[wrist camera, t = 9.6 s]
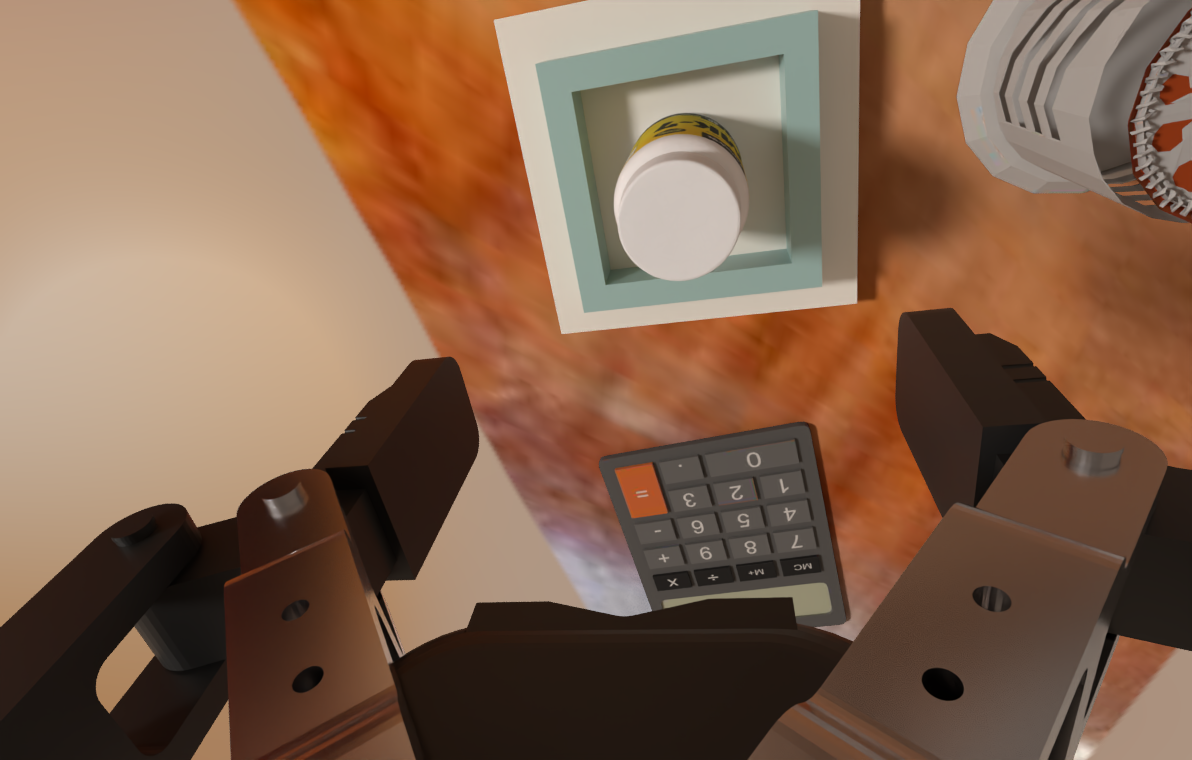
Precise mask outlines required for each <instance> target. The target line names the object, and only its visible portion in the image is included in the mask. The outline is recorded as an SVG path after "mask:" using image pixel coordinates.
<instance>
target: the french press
mask: <svg viewBox="0 0 1192 760" xmlns="http://www.w3.org/2000/svg"><path fill="white" fill-rule="evenodd" d="M957 101H958V106H959V111H960V116H961V121H962V126H963V131H964V136H965V141H966V143H967V145H968V146H969V147H970V148H971V150H972V151H973V152H974V153H975V155H976V156H977V157H978V158H979V159H980V161H981V162H982V163H983V164H984V166H985V167H986V168H987V169H988V171H989V172H990V173H991V174H992V176H994V177H996V178H999V179H1001V180H1003V181H1006V182H1008V183H1010V184H1013V185H1015V186H1017V187H1020V188H1022V189H1024V190H1027V191H1029V192H1031V193H1085V192H1087V191H1090V190H1091V191H1093V192H1095V193H1097V194H1100V195H1102V196H1104V197H1106V198H1109V199H1111V200H1113V201H1115V202H1117V203H1120V204H1122V205H1124V206H1126V207H1129V208H1131V209H1133V210H1135V211H1137V212H1140V213H1142V214H1144V215H1146V216H1149V217H1151V218H1155V219H1161V220H1168V221H1174V222H1181V223H1192V0H993V2H992V4H991V5H990V7H989V9H988V10H987V12H986V14H985V15H984V17H983V19H982V20H981V22H980V24H979V25H978V27H977V29H976V30H975V32H974V34H973V35H972V37H971V39H970V41H969V42H968V45H967V50H966V54H965V59H964V64H963V69H962V74H961V78H960V83H959V88H958V93H957ZM1133 180H1138V182H1139V183H1140V184H1137V185H1133V186H1123V187H1109V186H1108V184H1122V183H1126V182H1130V181H1133ZM1144 190H1145V191H1146V192H1147V194H1148V195H1131V196H1122V195H1119V194H1117V193H1115V192H1126V191H1144ZM1141 200H1153V202H1154V203H1155V204H1156V205H1148V206H1144V205H1142V204H1140V203H1138V202H1135V201H1141Z"/></svg>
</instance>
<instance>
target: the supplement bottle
mask: <svg viewBox="0 0 1192 760" xmlns="http://www.w3.org/2000/svg"><path fill="white" fill-rule="evenodd" d="M749 198H750V197H749V188H748V183H747V179H746V175H745V172H744V168H743V164H742V160H741V155H740V152H739V150H738V147H737V145H736V143H735V141H734V139H733V138H732V136H731V135H730V133H729V132H728V131H727V130H726V129H725V128H724V127H723V126H722V125H721V124H720V123H718V122H717V121H715V120H714V119H712V118H710V117H707V116H705V115H701V114H696V113H677V114H672V115H669V116H666V117H664V118H661V119H660V120H658V121H656V122H655V123H653V124H652V125H651V126H650V127H648V128H647V129H646V130H645V131H644V133H643V134H642V135H641V136H640V137H639V139H638V140H637V142H636V144H635V145H634V147H633V149H632V151H631V153H630V155H629V157H628V159H627V161H626V163H625V165H624V167H623V169H622V171H621V173H620V175H619V177H618V180H617V184H616V188H615V193H614V213H615V218H616V222H617V225H618V233H619V237H620V241H621V243H622V246H623V248H624V250H625V251H626V253H627V255H628V256H629V257H630V259H631V260H632V261H633V262H634V263H635V264H636V265H637V266H638V267H639V268H641V269H642V270H643V271H645V272H647V273H648V274H650V275H652V276H654V277H657V278H660V279H664V280H669V281H687V280H692V279H696V278H699V277H701V276H704V275H706V274H708V273H710V272H711V271H713V270H715V269H716V268H717V267H718V266H720V265H721V264H722V263H723V262H724V261H725V260H726V258H727V257H728V256H729V255H730V253H731V252H732V250H733V248H734V246H735V245H736V242H737V240H738V237H739V235H740V233H741V231H742V229H743V227H744V224H745V222H746V219H747V215H748V210H749Z"/></svg>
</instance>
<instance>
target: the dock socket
mask: <svg viewBox="0 0 1192 760" xmlns="http://www.w3.org/2000/svg"><path fill="white" fill-rule="evenodd" d="M494 24H495V29H496V33H497V38H498V42H499V47H500V52H501V56H502V61H503V65H504V70H505V75H506V79H507V84H508V89H509V93H510V98H511V102H512V107H513V112H514V116H515V121H516V125H517V130H518V135H519V139H520V144H521V149H522V153H523V158H524V162H525V167H526V172H527V176H528V181H529V185H530V190H531V195H532V199H533V204H534V209H535V213H536V218H537V222H538V227H539V232H540V236H541V241H542V245H543V250H544V255H545V259H546V264H547V269H548V273H549V278H550V282H551V287H552V292H553V296H554V301H555V305H556V310H557V315H558V319H559V324H560V329H561V333H562V334H566V333H576V332H586V331H595V330H605V329H615V328H624V327H634V326H644V325H653V324H663V323H673V322H682V321H692V320H702V319H711V318H721V317H731V316H740V315H750V314H760V313H769V312H779V311H789V310H798V309H808V308H818V307H827V306H837V305H847V304H856V303H857V257H858V160H859V64H860V0H588V1H583V2H578V3H573V4H569V5H564V6H559V7H554V8H549V9H545V10H540V11H535V12H530V13H525V14H521V15H516V16H511V17H506V18H501V19H496V20H494ZM677 113H696V114H701V115H705V116H707V117H710V118H712V119H714V120H715V121H717V122H718V123H720V124H721V125H722V126H723V127H724V128H725V129H726V130H727V131H728V132H729V133H730V135H731V136H732V138H733V139H734V141H735V143H736V145H737V147H738V150H739V152H740V155H741V160H742V164H743V168H744V172H745V175H746V179H747V183H748V188H749V197H750V198H749V210H748V215H747V219H746V222H745V224H744V227H743V229H742V231H741V233H740V235H739V237H738V240H737V242H736V245H735V246H734V248H733V250H732V252H731V253H730V255H729V256H728V257H727V258H726V260H725V261H724V262H723V263H722V264H721V265H720V266H718V267H717V268H716V269H715V270H713V271H711V272H710V273H708V274H706V275H704V276H701V277H699V278H696V279H692V280H687V281H669V280H664V279H660V278H657V277H654V276H652V275H650V274H648V273H647V272H645V271H643V270H642V269H641V268H639V267H638V266H637V265H636V264H635V263H634V262H633V261H632V260H631V259H630V257H629V256H628V255H627V253H626V251H625V250H624V248H623V246H622V243H621V241H620V237H619V233H618V225H617V222H616V218H615V213H614V193H615V188H616V184H617V180H618V177H619V175H620V173H621V171H622V169H623V167H624V165H625V163H626V161H627V159H628V157H629V155H630V153H631V151H632V149H633V147H634V145H635V144H636V142H637V140H638V139H639V137H640V136H641V135H642V134H643V133H644V131H645V130H646V129H647V128H648V127H650V126H651V125H652V124H653V123H655V122H656V121H658V120H660V119H661V118H664V117H666V116H669V115H672V114H677Z"/></svg>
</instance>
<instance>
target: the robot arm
mask: <svg viewBox="0 0 1192 760" xmlns="http://www.w3.org/2000/svg"><path fill="white" fill-rule="evenodd" d="M895 397H896V411H897V417H898V421H899V425H900V428H901V431H902V433H903V435H904V437H905V439H906V441H907V444H908V446H909V448H910V450H911V452H912V454H913V456H914V458H915V460H916V463H917V465H918V467H919V469H920V471H921V473H922V475H923V477H924V479H925V482H926V484H927V486H928V488H929V490H930V492H931V494H932V496H933V498H934V501H935V503H936V505H937V507H938V509H939V511H940V513H941V515H942V520H941V521H940V523H939V524H938V525H937V527H936V528H935V529H934V531H933V532H932V534H931V535H930V536H929V538H928V539H927V541H926V542H925V543H924V545H923V546H922V547H921V549H920V550H919V552H918V553H917V554H916V556H915V557H914V559H913V560H912V561H911V563H910V564H909V565H908V567H907V568H906V570H905V571H904V572H903V574H902V575H901V577H900V578H899V579H898V581H897V582H896V583H895V585H894V586H893V588H892V589H891V590H890V592H889V593H888V594H887V596H886V597H885V599H884V600H883V601H882V603H881V604H880V606H879V607H878V608H877V610H876V611H875V612H874V614H873V615H872V617H871V618H870V619H869V621H868V622H867V624H866V625H865V626H864V628H863V629H862V630H861V632H860V633H859V635H858V636H857V637H856V639H855V640H854V642H853V641H851V640H848V639H846V638H843V637H841V636H839V635H836V634H834V633H831V632H827V631H824V630H821V629H818V628H814V627H811V626H806V625H802V624H797V623H796V616H795V610H794V603H793V597H772V598H716V599H705V600H701V601H696V602H692V603H687V604H683V605H678V606H674V607H669V608H665V609H660V610H656V611H651V612H647V613H643V614H638V615H634V616H615V615H610V614H606V613H601V612H596V611H591V610H587V609H582V608H577V607H572V606H568V605H562V604H558V603H553V602H549V601H548V602H496V603H494V602H493V603H476V606H475V608H474V611H473V614H472V616H471V619H470V622H469V625H468V627H467V628H465V629H461V630H457V631H454V632H451V633H448V634H445V635H442V636H440V637H438V638H435V639H433V640H431V641H429V642H427V643H424V644H422V645H421V646H419V647H417V648H415V649H413V650H411V651H410V652H408V653H406V654H405V652H404V650H403V646H402V644H401V641H400V638H399V636H398V633H397V630H396V627H395V625H394V622H393V619H392V616H391V614H390V611H389V608H388V605H387V603H386V601H385V598H384V596H383V594H382V592H381V588H382V586H383V585H384V583H385V581H387V580H415V579H416V577H417V575H418V573H419V571H420V569H421V567H422V565H423V563H424V561H425V559H426V557H427V555H428V553H429V551H430V549H431V547H432V545H433V543H434V541H435V539H436V537H437V535H438V533H439V531H440V529H441V527H442V525H443V523H444V521H445V519H446V517H447V515H448V513H449V511H450V509H451V506H452V504H453V503H454V501H455V499H456V497H457V495H458V492H459V491H460V488H461V487H462V485H463V483H464V481H465V479H466V477H467V475H468V473H469V471H470V469H471V467H472V465H473V463H474V461H475V459H476V456H477V453H478V447H479V433H478V427H477V423H476V420H475V416H474V413H473V410H472V407H471V403H470V400H469V397H468V394H467V390H466V387H465V384H464V380H463V377H462V374H461V371H460V368H459V366H458V363H457V362H456V360H455V359H454V358H452V357H442V358H432V359H422V360H414V361H412V362H411V363H410V364H409V365H408V366H407V368H406V369H405V370H404V371H403V373H402V374H401V375H400V377H398V379H397V380H396V381H395V383H394V384H393V385H392V386H391V387H389V388H388V389H386V390H385V391H383V392H382V393H381V394H379V395H378V396H376V397H375V398H373V399H372V400H370V401H369V402H368V403H367V404H366V405H365V407H364V408H363V409H362V410H361V411H360V413H359V414H358V415H357V416H356V420H354V421H352V422H351V423H350V425H349V426H348V427H347V428H346V429H345V433H344V434H341V435H340V436H339V438H338V439H337V440H336V441H335V442H334V444H333V445H332V446H331V447H330V448H329V450H328V451H327V452H326V453H325V454H324V455H323V457H322V458H321V459H320V460H319V461H318V463H317V464H316V465H315V466H314V467H313V468H312V469H302V470H297V471H293V472H289V473H286V474H283V475H281V476H278V477H276V478H274V479H272V480H270V481H268V482H266V483H264V484H263V485H261V486H260V487H258V488H257V489H255V490H254V491H253V492H251V494H249V496H247V497H246V498H245V499H244V500H243V502H242V503H241V505H240V506H239V508H238V511H237V517H235V518H231V519H228V520H224V521H220V522H216V523H213V524H209V525H205V526H201V527H196V525H195V523H194V522H193V520H192V518H191V517H190V515H189V513H188V512H187V510H186V508H185V507H183V506H182V505H179V504H162V505H157V506H153V507H150V508H147V509H144V510H141V511H139V512H136V513H134V514H132V515H130V516H128V517H126V518H124V519H122V520H120V521H118V522H117V523H115V524H114V525H112V526H111V527H109V528H108V529H107V530H105V531H104V532H102V533H101V534H100V535H99V536H98V537H97V538H95V539H94V540H93V541H92V542H91V543H90V544H89V545H88V546H87V547H86V548H85V549H84V550H83V551H82V552H80V553H79V554H78V555H77V556H76V557H75V558H74V559H73V560H72V561H71V562H70V563H69V564H68V565H67V566H66V567H64V568H63V569H62V570H61V571H60V572H59V573H58V574H57V575H56V576H55V577H54V578H53V579H52V580H51V581H49V582H48V583H47V584H46V585H45V586H44V587H43V588H42V589H41V590H40V591H39V592H38V593H37V594H36V595H35V596H34V597H33V598H31V599H30V600H29V601H28V602H27V603H26V604H25V605H24V606H23V607H22V608H21V609H20V610H18V611H17V613H15V614H14V615H13V616H12V617H11V618H10V619H9V620H8V621H7V622H6V623H5V624H3V626H2V627H0V760H191V758H192V757H193V755H194V753H195V752H196V750H197V749H198V747H199V745H200V744H201V742H202V741H203V739H204V737H205V735H206V734H207V732H208V731H209V729H210V728H211V726H212V724H213V723H214V721H215V720H216V718H217V717H218V715H219V713H220V712H221V710H222V709H223V707H224V705H225V704H226V702H227V701H229V724H230V749H231V760H1073V758H1074V755H1075V753H1076V750H1077V747H1078V744H1079V741H1080V739H1081V736H1082V733H1083V731H1084V728H1085V726H1086V723H1087V720H1088V718H1089V715H1090V712H1091V710H1092V707H1093V705H1094V702H1095V699H1096V697H1097V694H1098V692H1099V689H1100V686H1101V684H1102V681H1103V678H1104V676H1105V673H1106V671H1107V668H1108V665H1109V663H1110V660H1111V658H1112V655H1113V652H1114V650H1115V647H1116V644H1117V642H1118V639H1119V636H1125V637H1129V638H1134V639H1139V640H1143V641H1148V642H1152V643H1157V644H1161V645H1166V646H1171V647H1175V648H1180V649H1184V650H1189V651H1192V470H1188V469H1181V468H1176V467H1171V466H1167V465H1168V462H1167V458H1166V456H1165V454H1164V453H1163V451H1162V450H1161V449H1160V448H1159V447H1158V446H1157V445H1156V444H1154V443H1153V442H1152V441H1150V440H1149V439H1147V438H1146V437H1144V436H1142V435H1140V434H1138V433H1136V432H1134V431H1131V430H1129V429H1126V428H1123V427H1120V426H1117V425H1113V424H1109V423H1104V422H1099V421H1092V420H1086V419H1085V418H1084V417H1083V416H1082V415H1081V414H1080V413H1079V412H1078V411H1077V409H1076V408H1075V407H1074V406H1073V405H1072V404H1071V403H1070V402H1069V401H1068V400H1067V399H1066V398H1065V397H1064V396H1063V394H1062V393H1061V392H1060V391H1059V390H1058V389H1057V388H1056V387H1055V386H1054V385H1053V384H1052V383H1051V382H1050V381H1047V380H1046V376H1045V375H1044V374H1043V373H1042V372H1041V371H1040V370H1039V369H1038V368H1037V367H1036V366H1035V367H1034V366H1033V362H1032V361H1031V360H1030V359H1029V358H1028V357H1027V356H1026V355H1025V354H1024V353H1023V352H1022V351H1021V349H1020V348H1019V347H1018V346H1016V345H1014V344H1012V343H1010V342H1007V341H1005V340H1003V339H1001V338H999V337H997V336H995V335H993V334H991V333H987V334H976V335H975V334H974V333H973V332H972V330H971V329H970V328H969V327H968V326H967V324H966V323H965V322H964V321H963V320H962V318H961V317H960V316H959V315H958V314H957V312H956V311H955V310H954V309H953V308H945V309H934V310H924V311H914V312H904V313H902V315H901V317H900V320H899V328H898V349H897V371H896V396H895ZM133 627H135V628H136V629H137V631H138V632H139V634H140V635H141V636H142V638H143V639H144V641H145V642H146V643H147V645H148V646H149V647H150V649H151V650H152V652H153V653H154V654H155V656H154V657H153V659H152V660H151V661H150V662H149V664H148V665H147V666H146V667H145V669H144V670H143V671H142V673H141V674H140V675H139V676H138V678H137V679H136V680H135V682H134V683H133V684H132V686H131V687H130V688H129V689H128V691H127V692H126V693H125V694H124V696H123V697H122V698H121V700H120V701H119V702H118V703H117V705H116V706H115V707H114V709H113V710H112V711H111V712H110V714H109V713H108V712H107V710H106V709H105V708H104V707H103V705H102V704H101V703H100V701H99V700H98V697H97V694H96V679H97V675H98V672H99V670H100V668H101V666H102V664H103V663H104V661H105V660H106V659H107V657H108V656H109V655H110V654H111V653H112V652H113V650H114V649H115V648H116V647H117V645H118V644H119V643H120V642H121V641H122V640H123V639H124V637H125V636H126V635H127V634H128V633H129V632H130V630H131V629H132V628H133Z"/></svg>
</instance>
